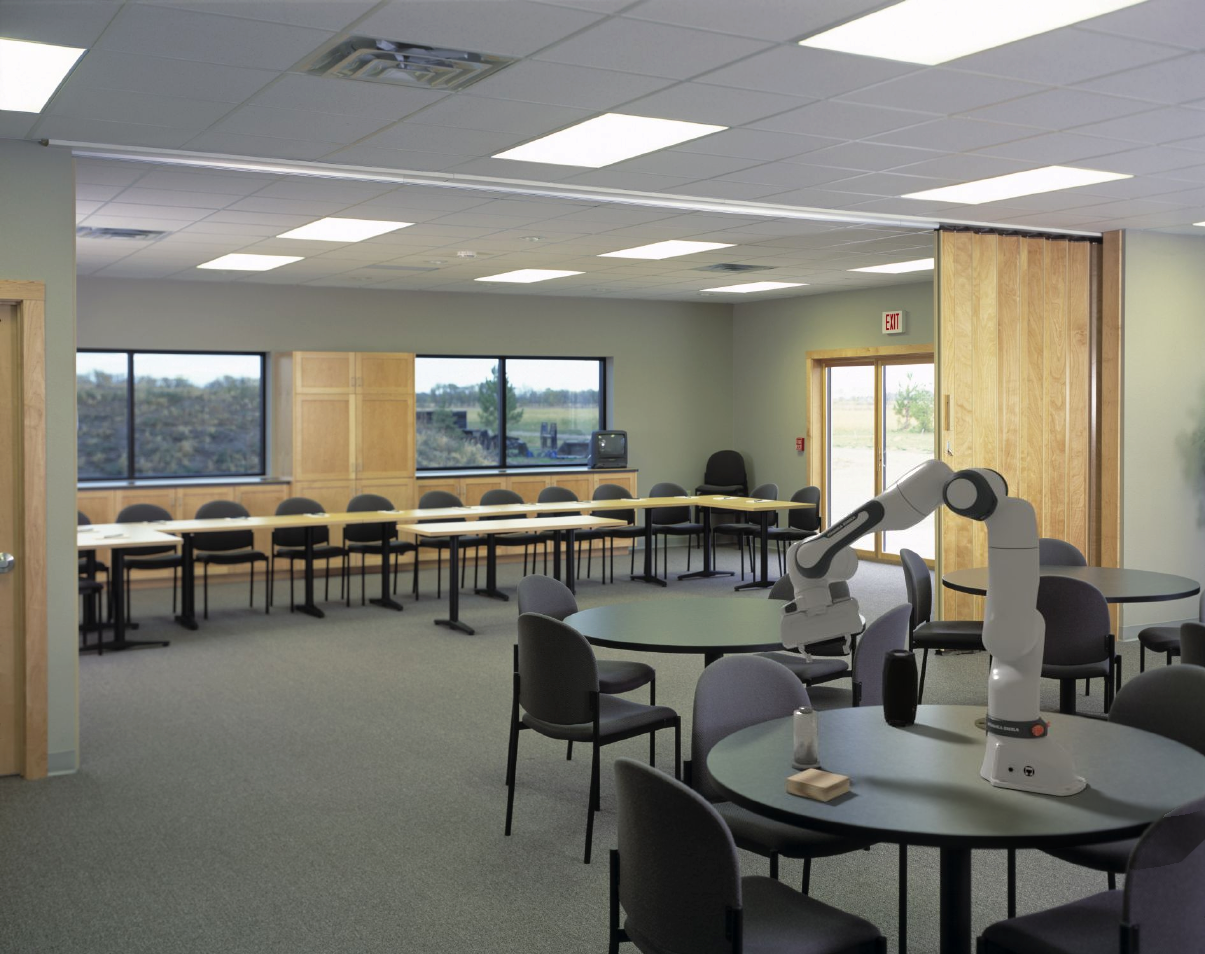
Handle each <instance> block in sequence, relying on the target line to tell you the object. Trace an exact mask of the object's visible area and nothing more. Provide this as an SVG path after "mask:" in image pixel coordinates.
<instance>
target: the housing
mask: <svg viewBox="0 0 1205 954" xmlns="http://www.w3.org/2000/svg"><path fill="white" fill-rule="evenodd" d="M818 715H819V714H818V711H817V710H814V709H813V707H812V706H807V705H804V706H803V705H802V706H799V707H798V709H795V710H793V759H792V760H791V768H792V769H794V770H797V771H801V772H803V771H805V770H808V769H810V768H811V769H816V770H820V769H821V768H820V767H821V761H820V760H819V757H818V755H819V753H818V751H819V749H818V748H819V746H818V745H819V743H818V742H819V738H818V737H819V725H818V724H819V723H818V720H819V719H818V718H819V716H818Z"/></svg>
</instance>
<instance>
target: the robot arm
mask: <svg viewBox="0 0 1205 954" xmlns="http://www.w3.org/2000/svg"><path fill="white" fill-rule="evenodd" d="M943 505H945V506H946V507H947V508H948V510H949V511H951V512H953V514H955V515H959V516H960V517H963V518H967V519H970V520H974V521H977V522H984V524H985V527H986V530H987V587H986V595H985V604H984V614H983V615H984V616H983V627H982V633H981V638H982V639H981V640H982V645H983V646H984V648H985V650H986V651H987V652H988V653H989V654H990V655H991V656H992V658H991V659H992V660H991V665H990V670H989V671H990V672H989V676H988V686H987V687H988V689H987V690H988V691H987V692H988V693H987V697H988V698H987V700H988V701H987V702H988V703H987V709H988V713H987V712H986V714H985V718H986V730H985V737H986V746H985V752H984V757H983V758H984V759H983V763H982V766H981V769H980V771H979V775H980V776H981V777H982V778H983V779H985V780H987V781H988V782H989V783H990V784H991V785H992V786H993V787H994V786H995V787H999V788H1006V789H1007V788H1008V789H1014V790H1019V791H1026V792H1032V793H1037V794H1038V793H1040V794H1045V795H1050V796H1051V795H1053V796H1059V797H1064V796H1071V795H1075V794H1078V793H1080V792H1082V791H1084V789H1085V788H1086V786H1087V781H1086V779H1085V778H1084V777H1083V776H1079V775H1077V773H1076V767H1075V762H1074V759H1073V756H1072V755H1071V754H1070V753H1069V752H1068V751H1067V750H1065V748H1063V747H1062V746H1061V745H1059V744H1058V743H1057V742H1056V741H1055V740H1054V739H1053V738H1051V736H1050V735H1048V733H1049V732H1048V731H1049V729H1048V728H1050V727H1051V725H1050V724H1051V721H1048V722H1046V721H1045V720H1044V719H1043V718H1042V717H1041V716H1040V707H1041V706H1040V704H1041V703H1040V702H1041V700H1040V699H1041V698H1040V696H1041V695H1040V694H1041V693H1040V691H1041V675H1042V669H1043V660H1044V659H1043V658H1044V651H1045V648H1044V647H1045V636H1046V635H1045V634H1046V620H1045V618H1044V617H1043V614H1042V613H1041V612H1040V611H1039V610H1038V609H1037V601H1038V593H1039V586H1040V576H1041V575H1040V535H1039V526H1038V520H1037V516H1036V512H1035V507H1034V506H1033V504H1032V503H1030V501H1028V500H1027V499H1024V498H1020V497H1015V496H1013V497H1012V496H1009V485H1008V481H1007V480H1006V479H1005V477H1004V476H1003V475H1002V474H1001V473H1000V472H998V471H996V470H994V469H991V468H987V467H986V468H983V467H982V468H981V467H969V468H966V469H960V470H957V471H954V470H953V469H952V468H951V466H950V465H948V464H947V463H946V462H944V461H943V460H940V459H936V458H931V459H927V460H925V461H924V462H922V463H920V464H918V465H917V466H915V467H913V468H912V469H910V470H909V471H908V472H906V473H905V474H903V475H902V476H901V477H899V478H898V479H897V480H896V481H894V482H893V483H892V484H890V486H888V487H887V488H886V489H884V490H883V491H881V492H880V493H878V494H877V495H876V496H875V497H873V498H871V499H870V500H868V501H866V502H865V503H863V504H862V505H859V506H858V507H856V508H855V509H853V510H852V511H850V512H849V513H848V514H847V515H845V516H843V517H842V518H840V519H839V520H838V521H836V522H835V523H833V524H832V525H831V526H830V527H828V528H826V529H825V530H823V531H822V532H820V533H818V534H816V535H815V534H814V535H810V536H807V537H806V538H803V539H802V540H801V539H800V540H798V541H796V542H794V543H793V544H791V545H790V546H789V547H788V548H787V550H786V554H785V555H786V557H785V558H786V565H787V566H786V568H787V573H788V576H789V579H790V582H791V584H792V587H793V596H794V599H793V600H792V601H791V602H789V603H786V604H785V605H783V606H782V607H780V610H779V611H780V616H781V620H780V622H779V624H780V625H779V626H780V627H779V630H780V638H781V643H782V646H783V647H784V648H786V649H787V650H788V649H794V648H797V649H798V651H799V652H800V653H801V654H802V655H803V656H804V657H805V662H806V663H812V662H813V658H812V655H811V653H807V652H806V651H805V646H806V645H809V644H814V643H818V642H823V641H827V640H832V639H835V638H836V639H837V638H841V637H843V636H844V639H845V640H846V643H845V645H842V649H843V653H844V655H845V654H850V653H851V649H850V644H851V641H852V636H851V635H853V634H857V633H861V632H862V631H863V629H864V625H863V620H862V618H861V615H860V613H859V610H860V605H859V601H858V599H857V598H855V597H854V596H850V595H847V596H844V597H839V598H834V599H833V598H832V596H831V594H832V593H831V591H830V588H829V587H830V586H829V585H830V584H833V583H839V582H845V581H848V580H850V579H852V578H853V577H854V576H855V574H856V573H857V571H858V567H859V557H858V554H857V551H856V550H855V549H854V547H852V546H851V545H852V544H855V543H856V542H857V541H858V540H860V539H861V538H863V537H865V536H867V535H869V534H873V533H878V532H879V533H880V532H887V531H888V532H890V531H896V532H897V531H905V530H908V529H910V528H912V527H914V526H915V525H917V524H919V523H920V522H922V521H924V520H925V519H926V518H927V517H929V516H930V515H931V514H932V513H934V511H936V510H937V509H938V508H940V507H941V506H943Z"/></svg>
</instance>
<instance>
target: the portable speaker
mask: <svg viewBox="0 0 1205 954" xmlns="http://www.w3.org/2000/svg"><path fill="white" fill-rule="evenodd" d="M884 654H885V655H884V660H883V667H882V671H881V672H882V673H881V675H882V677H881V680H882V681H881V683H882V684H881V687H882V688H881V698H882V708H883V717H884V720H885V722H886V723H889V725H890V726H891V727H899V728H905V727H906V726H907V725H909V724H911V725H912V726H913V725H915V722H916V721H915V720H916V718H917V712H918V711H917V710H918V704H919V703H918V702H919V670H918V665H917V660H916V652H912V651H909V650H907V649H902V648H896V649H895V648H894V649H892V650H890V651H885V653H884Z"/></svg>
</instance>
